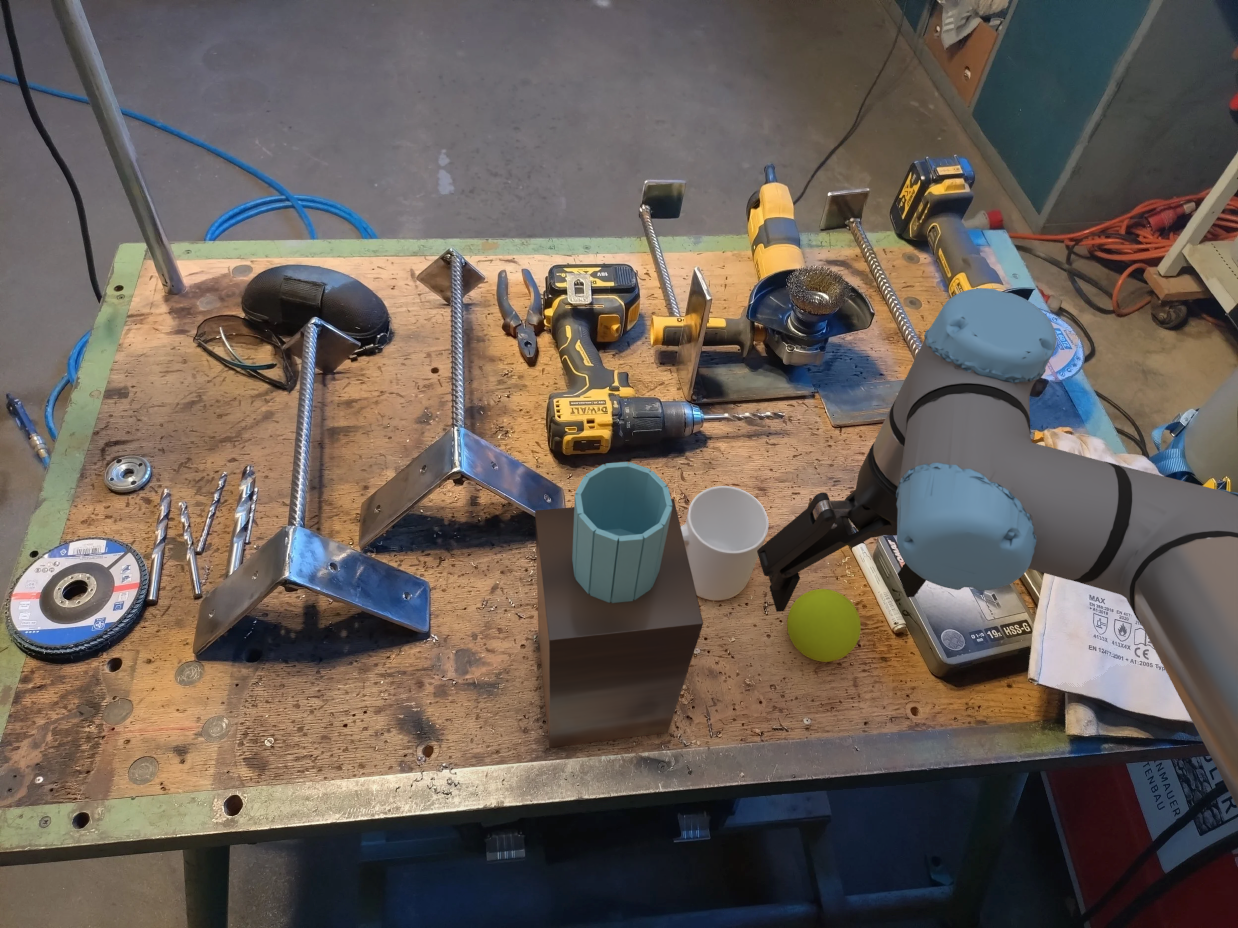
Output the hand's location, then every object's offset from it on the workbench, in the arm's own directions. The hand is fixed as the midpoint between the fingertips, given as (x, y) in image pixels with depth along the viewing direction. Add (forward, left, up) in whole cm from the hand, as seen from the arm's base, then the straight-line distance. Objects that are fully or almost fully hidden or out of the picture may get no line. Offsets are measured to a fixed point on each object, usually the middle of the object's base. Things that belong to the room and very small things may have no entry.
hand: (841, 592), depth 80 cm
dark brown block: (-2, +24, -11) cm, 26 cm away
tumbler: (-2, +24, +13) cm, 28 cm away
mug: (+10, +11, -11) cm, 18 cm away
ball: (0, 0, -11) cm, 11 cm away
